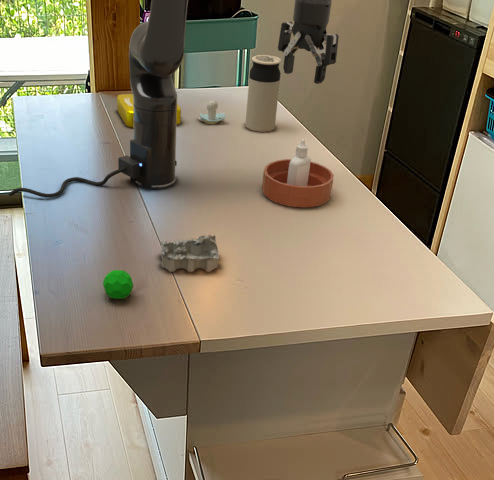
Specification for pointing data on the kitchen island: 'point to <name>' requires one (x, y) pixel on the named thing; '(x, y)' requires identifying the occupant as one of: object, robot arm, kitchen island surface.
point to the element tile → (128, 112)
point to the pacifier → (212, 114)
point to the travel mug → (263, 93)
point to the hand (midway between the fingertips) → (303, 78)
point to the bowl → (297, 195)
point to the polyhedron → (118, 284)
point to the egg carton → (190, 254)
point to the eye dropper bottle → (299, 166)
